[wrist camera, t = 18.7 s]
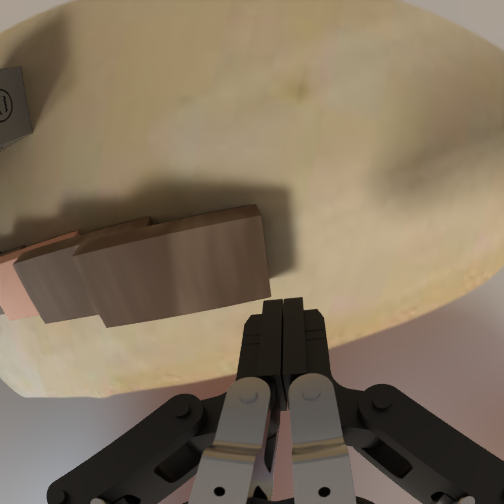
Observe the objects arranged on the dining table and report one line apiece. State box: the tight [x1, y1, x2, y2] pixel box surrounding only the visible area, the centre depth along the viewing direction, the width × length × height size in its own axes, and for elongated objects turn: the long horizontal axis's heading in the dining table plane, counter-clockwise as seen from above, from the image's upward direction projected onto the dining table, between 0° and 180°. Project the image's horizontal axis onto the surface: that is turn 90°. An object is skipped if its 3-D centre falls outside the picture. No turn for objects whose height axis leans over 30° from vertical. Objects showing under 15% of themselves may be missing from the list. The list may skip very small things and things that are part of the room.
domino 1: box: [0, 231, 80, 320], centre depth 18 cm, size 2×5×10 cm
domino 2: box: [12, 216, 153, 324], centre depth 17 cm, size 2×5×10 cm
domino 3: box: [72, 204, 271, 328], centre depth 16 cm, size 2×5×10 cm
